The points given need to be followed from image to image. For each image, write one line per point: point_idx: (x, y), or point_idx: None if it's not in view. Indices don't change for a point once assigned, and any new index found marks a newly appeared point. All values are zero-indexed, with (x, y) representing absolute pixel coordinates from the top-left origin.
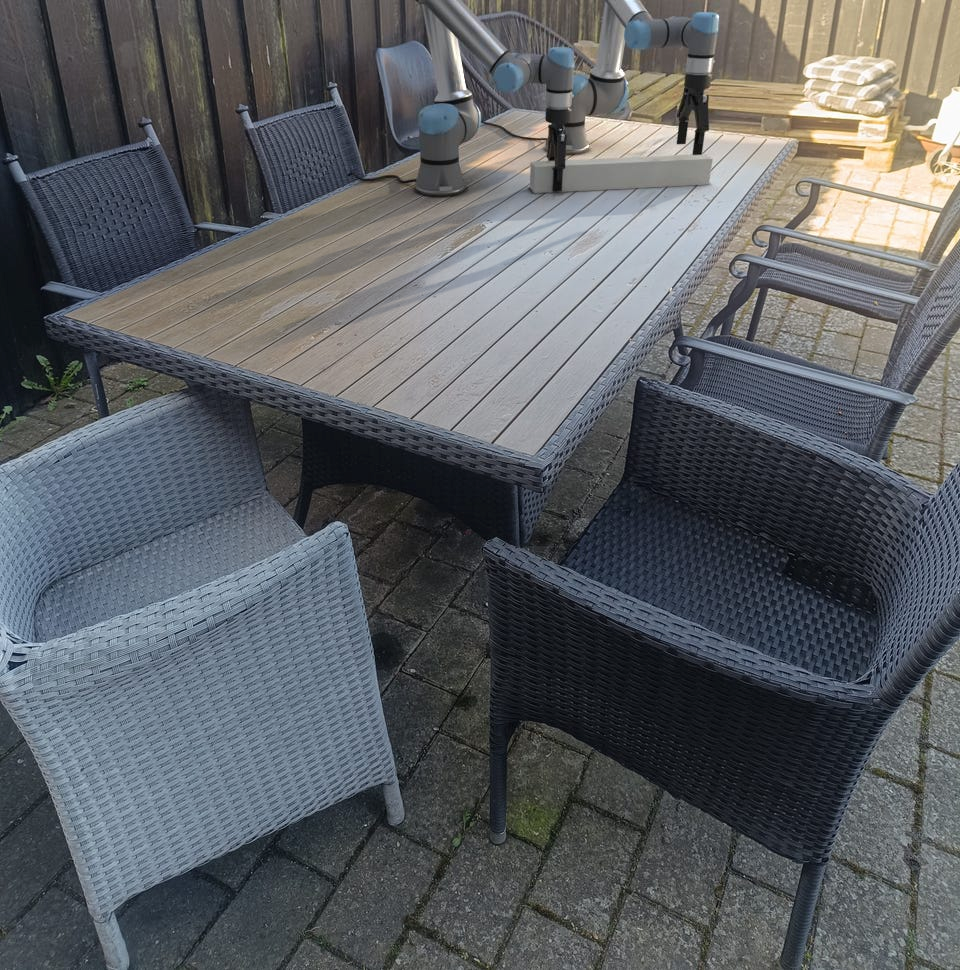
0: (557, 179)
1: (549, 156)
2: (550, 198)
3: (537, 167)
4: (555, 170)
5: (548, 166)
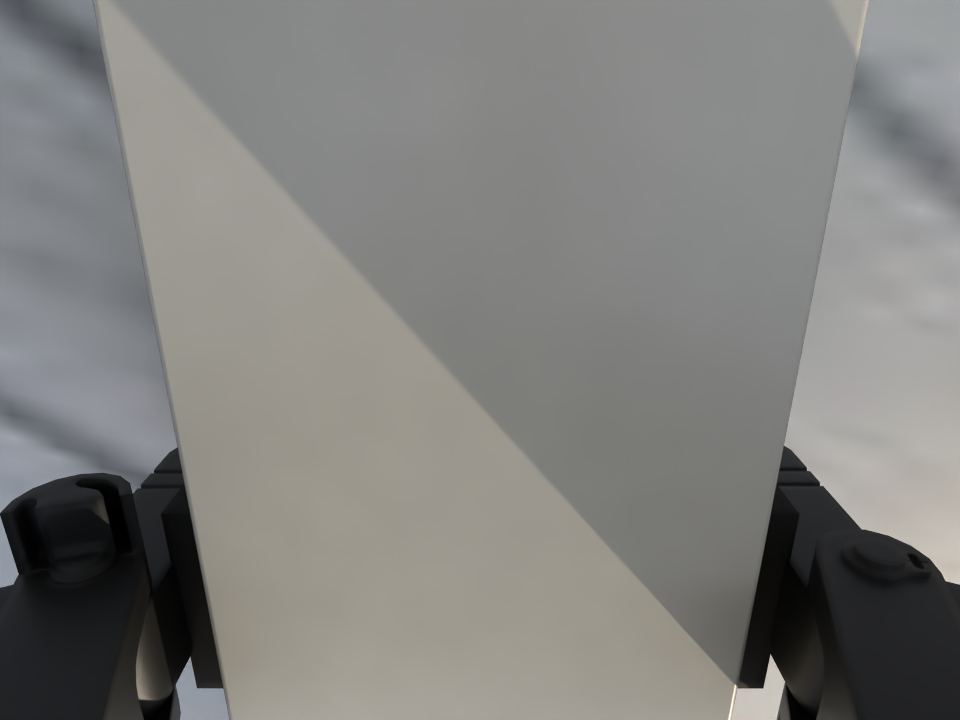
0: (167, 464)
1: (873, 654)
2: (55, 233)
3: (104, 31)
4: (181, 530)
5: (175, 420)
